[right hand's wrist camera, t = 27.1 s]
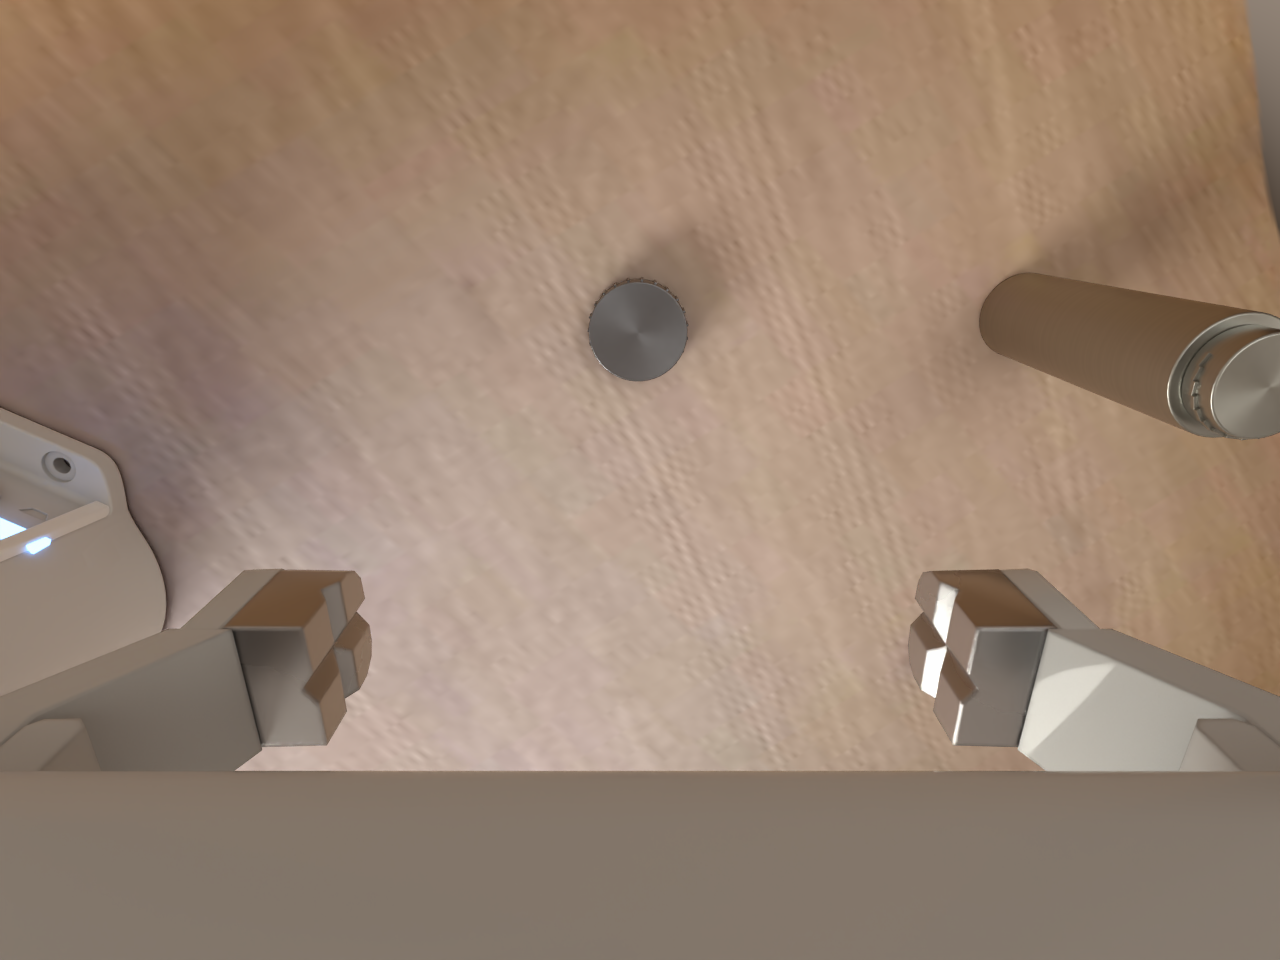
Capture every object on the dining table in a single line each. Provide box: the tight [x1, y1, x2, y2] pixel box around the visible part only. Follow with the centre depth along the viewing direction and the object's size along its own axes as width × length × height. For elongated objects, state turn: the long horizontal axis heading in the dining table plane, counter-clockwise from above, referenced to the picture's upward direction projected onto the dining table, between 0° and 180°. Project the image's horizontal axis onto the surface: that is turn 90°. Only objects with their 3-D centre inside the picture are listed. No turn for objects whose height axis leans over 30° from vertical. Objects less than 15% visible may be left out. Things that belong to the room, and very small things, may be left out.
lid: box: [588, 277, 688, 381], centre depth 34 cm, size 5×5×2 cm
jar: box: [979, 273, 1280, 440], centre depth 27 cm, size 4×4×14 cm
